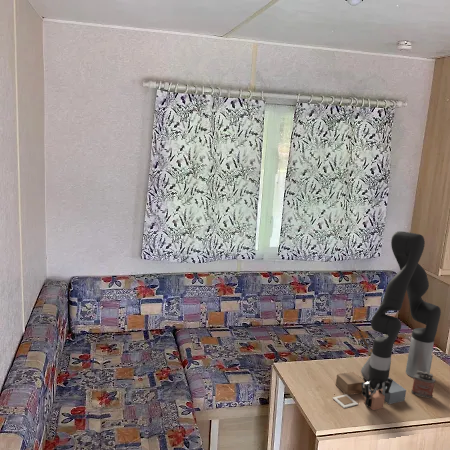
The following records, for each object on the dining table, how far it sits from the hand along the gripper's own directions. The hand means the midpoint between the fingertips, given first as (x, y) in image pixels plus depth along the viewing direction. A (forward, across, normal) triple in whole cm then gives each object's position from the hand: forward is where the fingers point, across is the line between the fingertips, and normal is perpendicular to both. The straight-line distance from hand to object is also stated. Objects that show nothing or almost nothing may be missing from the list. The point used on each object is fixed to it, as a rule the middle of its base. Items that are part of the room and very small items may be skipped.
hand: (373, 404), depth 190 cm
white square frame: (0, +9, -6) cm, 11 cm away
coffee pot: (+1, -15, -20) cm, 25 cm away
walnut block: (+1, +1, -13) cm, 13 cm away
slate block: (+1, -11, -2) cm, 11 cm away
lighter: (+1, -25, +1) cm, 25 cm away
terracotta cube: (0, 0, 0) cm, 0 cm away
